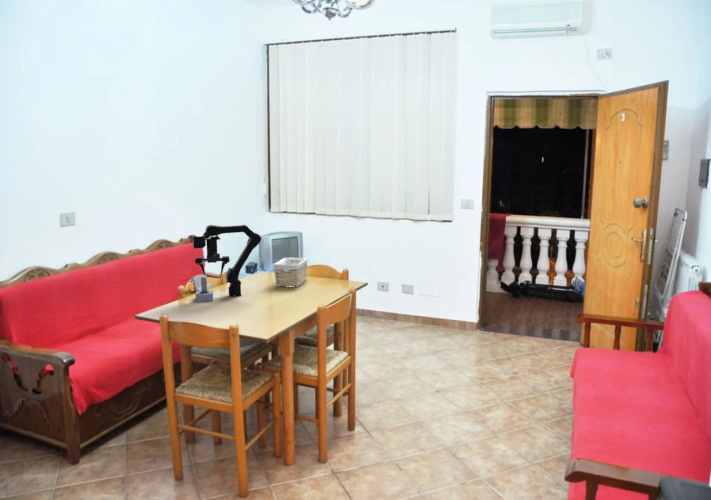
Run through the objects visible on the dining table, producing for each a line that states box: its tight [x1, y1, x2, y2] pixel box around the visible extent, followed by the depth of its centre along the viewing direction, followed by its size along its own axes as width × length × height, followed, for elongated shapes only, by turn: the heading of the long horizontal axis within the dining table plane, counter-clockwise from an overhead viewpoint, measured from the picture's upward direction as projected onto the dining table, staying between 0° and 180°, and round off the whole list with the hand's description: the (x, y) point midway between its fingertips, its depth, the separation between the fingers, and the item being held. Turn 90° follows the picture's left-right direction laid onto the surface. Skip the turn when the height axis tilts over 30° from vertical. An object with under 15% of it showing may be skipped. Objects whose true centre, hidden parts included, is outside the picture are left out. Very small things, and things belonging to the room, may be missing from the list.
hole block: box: [195, 289, 214, 303], centre depth 310 cm, size 9×9×4 cm
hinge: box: [188, 273, 213, 292], centre depth 334 cm, size 17×5×10 cm, turn 167°
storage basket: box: [273, 257, 308, 288], centre depth 349 cm, size 24×16×15 cm
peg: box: [201, 277, 208, 294], centre depth 309 cm, size 3×3×12 cm
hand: (213, 274), depth 314 cm, fingers open, 9 cm apart
